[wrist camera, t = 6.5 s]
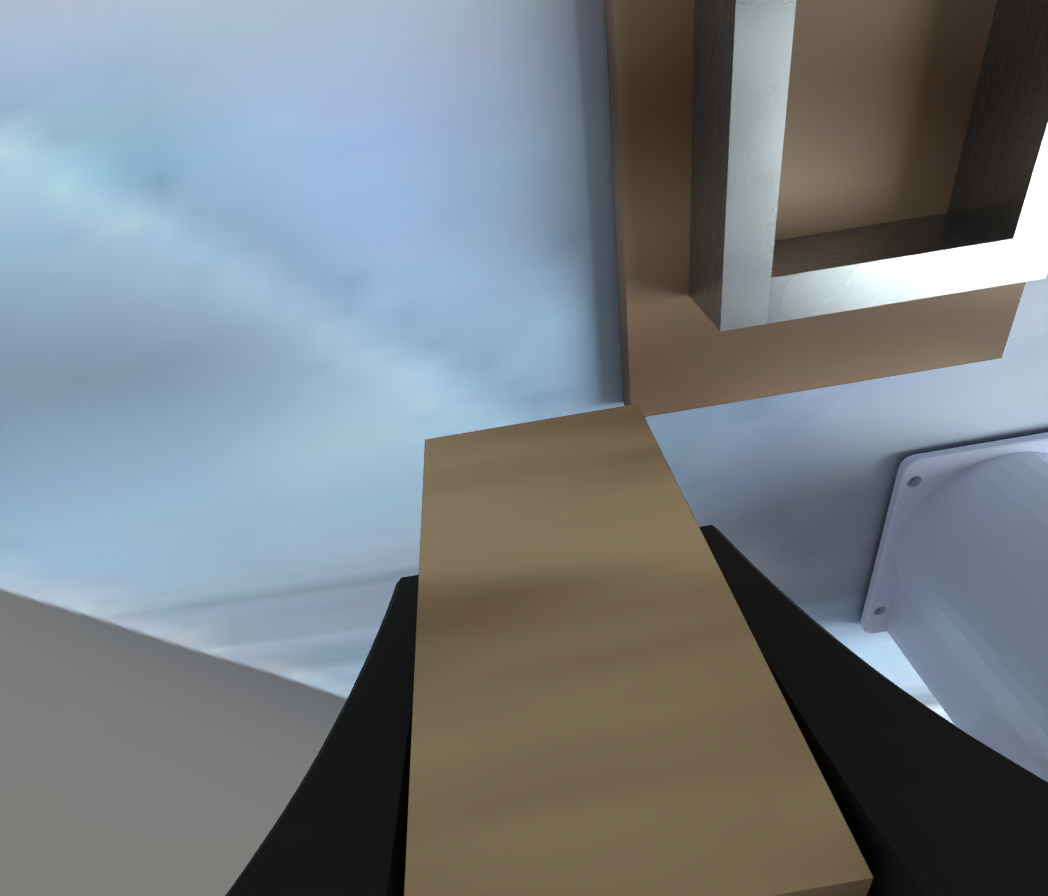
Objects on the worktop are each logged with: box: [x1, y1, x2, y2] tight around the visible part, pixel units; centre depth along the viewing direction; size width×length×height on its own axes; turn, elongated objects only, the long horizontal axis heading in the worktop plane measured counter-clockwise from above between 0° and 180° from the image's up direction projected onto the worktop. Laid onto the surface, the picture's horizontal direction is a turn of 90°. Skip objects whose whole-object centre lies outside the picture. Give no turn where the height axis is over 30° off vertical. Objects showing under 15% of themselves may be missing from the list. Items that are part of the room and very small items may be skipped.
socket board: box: [605, 0, 1048, 417], centre depth 15 cm, size 16×12×4 cm
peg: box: [404, 404, 873, 896], centre depth 10 cm, size 4×4×8 cm
